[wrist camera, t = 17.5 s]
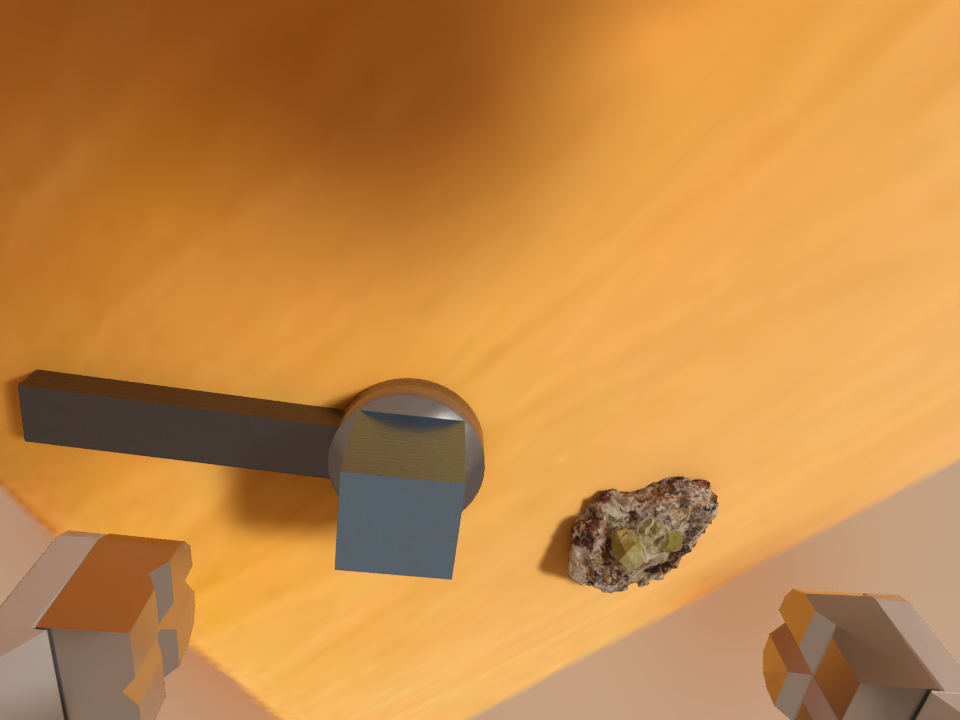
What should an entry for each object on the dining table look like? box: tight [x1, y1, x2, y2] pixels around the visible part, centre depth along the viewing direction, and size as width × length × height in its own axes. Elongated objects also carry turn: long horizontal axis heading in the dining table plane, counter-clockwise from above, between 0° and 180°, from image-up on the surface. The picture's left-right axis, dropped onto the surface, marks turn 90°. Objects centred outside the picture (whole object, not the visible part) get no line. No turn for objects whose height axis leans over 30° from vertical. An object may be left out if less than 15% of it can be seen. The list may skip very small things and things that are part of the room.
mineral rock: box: [568, 477, 719, 593], centre depth 45 cm, size 11×4×8 cm
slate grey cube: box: [335, 410, 466, 579], centre depth 37 cm, size 6×6×6 cm
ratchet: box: [18, 370, 485, 511], centre depth 39 cm, size 26×9×6 cm, turn 81°
